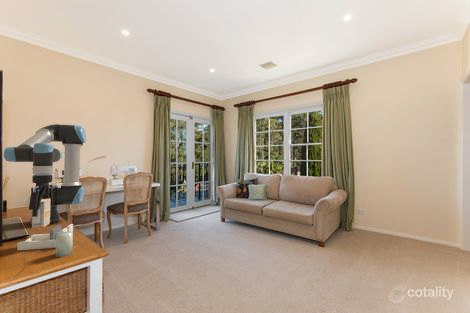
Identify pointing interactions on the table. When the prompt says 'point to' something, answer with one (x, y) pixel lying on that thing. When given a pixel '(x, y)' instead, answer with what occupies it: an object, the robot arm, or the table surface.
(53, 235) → the pusher
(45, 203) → the supplement box
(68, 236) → the sage jar
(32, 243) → the white open tray
